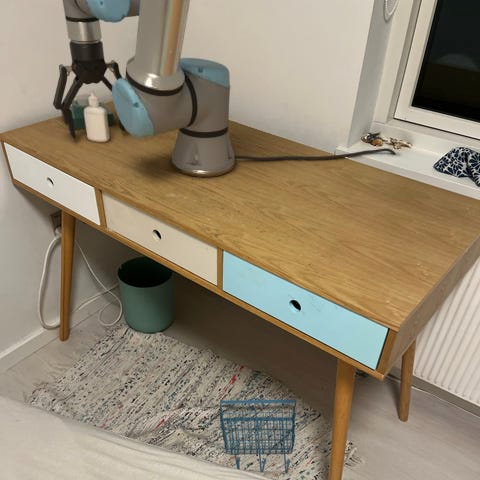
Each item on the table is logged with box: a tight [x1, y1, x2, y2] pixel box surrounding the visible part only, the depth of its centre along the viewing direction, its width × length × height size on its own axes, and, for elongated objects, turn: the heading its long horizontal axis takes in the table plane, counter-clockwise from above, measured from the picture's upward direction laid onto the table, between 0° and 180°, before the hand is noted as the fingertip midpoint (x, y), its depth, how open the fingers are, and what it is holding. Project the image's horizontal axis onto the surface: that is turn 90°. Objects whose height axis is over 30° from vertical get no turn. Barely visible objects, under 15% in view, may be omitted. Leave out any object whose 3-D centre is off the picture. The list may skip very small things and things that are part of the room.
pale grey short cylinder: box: [75, 93, 91, 106], centre depth 138 cm, size 4×4×2 cm
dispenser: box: [60, 99, 115, 131], centre depth 140 cm, size 12×10×5 cm
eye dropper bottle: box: [84, 90, 111, 143], centre depth 128 cm, size 4×6×12 cm
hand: (98, 132), depth 131 cm, fingers open, 12 cm apart
